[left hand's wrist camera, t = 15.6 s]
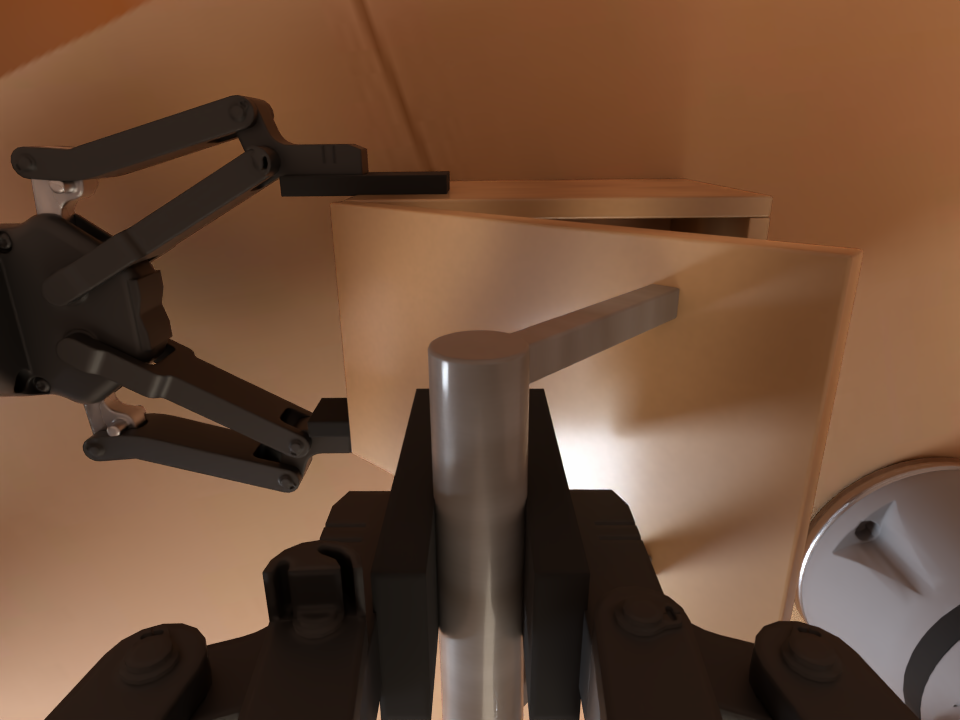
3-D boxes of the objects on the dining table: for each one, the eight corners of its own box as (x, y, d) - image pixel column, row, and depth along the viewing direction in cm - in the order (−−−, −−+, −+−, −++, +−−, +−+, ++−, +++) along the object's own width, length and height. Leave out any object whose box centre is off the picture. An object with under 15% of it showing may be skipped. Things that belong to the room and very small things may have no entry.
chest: (684, 178, 32) (774, 195, 22) (667, 357, 35) (738, 441, 25) (384, 181, 32) (342, 200, 22) (395, 360, 35) (362, 444, 26)
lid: (865, 248, 12) (676, 346, 6) (784, 653, 15) (615, 944, 10) (350, 200, 22) (113, 221, 17) (369, 446, 25) (176, 530, 20)
